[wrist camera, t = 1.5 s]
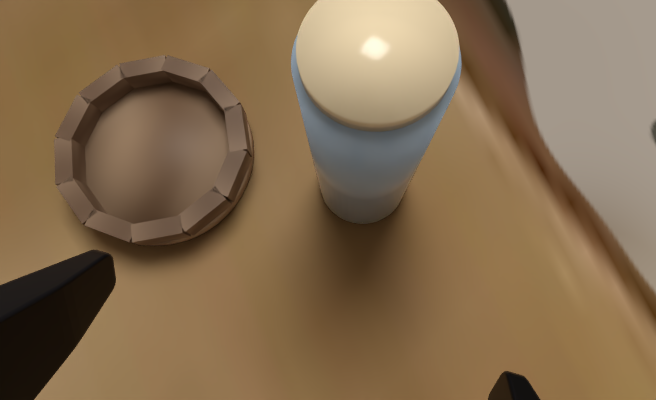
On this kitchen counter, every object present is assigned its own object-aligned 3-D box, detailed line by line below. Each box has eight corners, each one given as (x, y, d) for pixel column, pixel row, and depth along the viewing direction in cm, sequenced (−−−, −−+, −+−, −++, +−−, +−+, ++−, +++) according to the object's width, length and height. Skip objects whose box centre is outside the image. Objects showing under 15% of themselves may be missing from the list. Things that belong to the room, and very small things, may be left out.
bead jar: (327, 231, 23) (303, 145, 11) (313, 150, 24) (275, -12, 12) (413, 215, 23) (487, 111, 11) (395, 134, 24) (443, -43, 12)
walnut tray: (81, 261, 23) (56, 257, 21) (74, 92, 26) (51, 75, 24) (265, 227, 23) (258, 220, 21) (241, 61, 26) (232, 41, 24)
